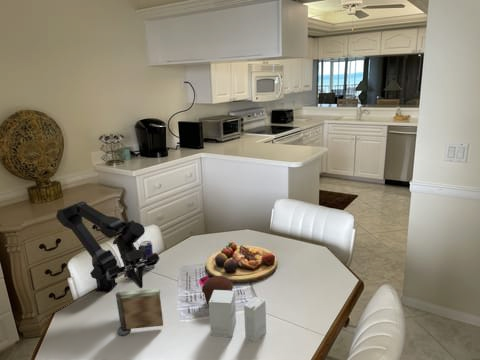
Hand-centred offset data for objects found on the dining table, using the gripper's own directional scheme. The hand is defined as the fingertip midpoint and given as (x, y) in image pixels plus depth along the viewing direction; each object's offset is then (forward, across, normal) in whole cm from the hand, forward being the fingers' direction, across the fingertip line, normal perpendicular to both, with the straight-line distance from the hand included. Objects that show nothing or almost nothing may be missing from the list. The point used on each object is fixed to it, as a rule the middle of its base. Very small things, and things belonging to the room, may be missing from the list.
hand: (141, 287), depth 129 cm
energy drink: (-14, +14, +28) cm, 34 cm away
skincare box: (+32, +23, -19) cm, 44 cm away
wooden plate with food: (+4, +47, +10) cm, 48 cm away
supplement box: (+26, +17, -13) cm, 33 cm away
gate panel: (+13, -4, -1) cm, 14 cm away
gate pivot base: (+12, -10, +2) cm, 15 cm away
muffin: (+16, +24, -3) cm, 29 cm away
